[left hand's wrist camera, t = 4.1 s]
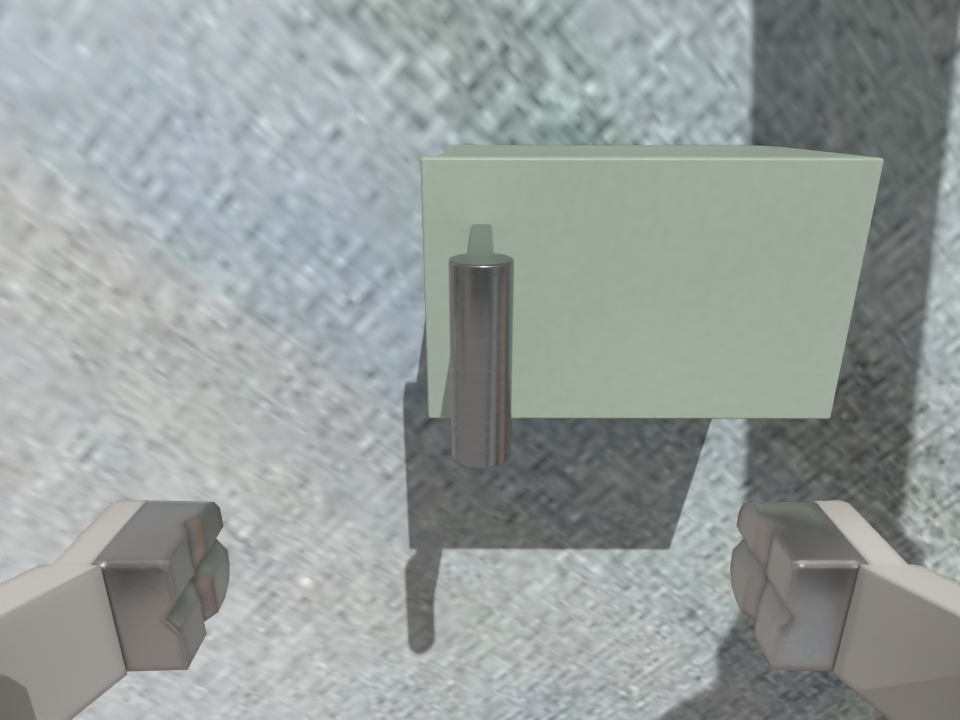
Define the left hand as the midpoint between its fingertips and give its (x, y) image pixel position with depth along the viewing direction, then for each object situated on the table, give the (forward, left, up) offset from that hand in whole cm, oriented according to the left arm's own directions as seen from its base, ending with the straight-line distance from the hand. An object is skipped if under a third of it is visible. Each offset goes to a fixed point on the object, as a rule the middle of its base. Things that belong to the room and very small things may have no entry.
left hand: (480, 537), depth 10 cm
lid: (+5, -2, -15) cm, 16 cm away
